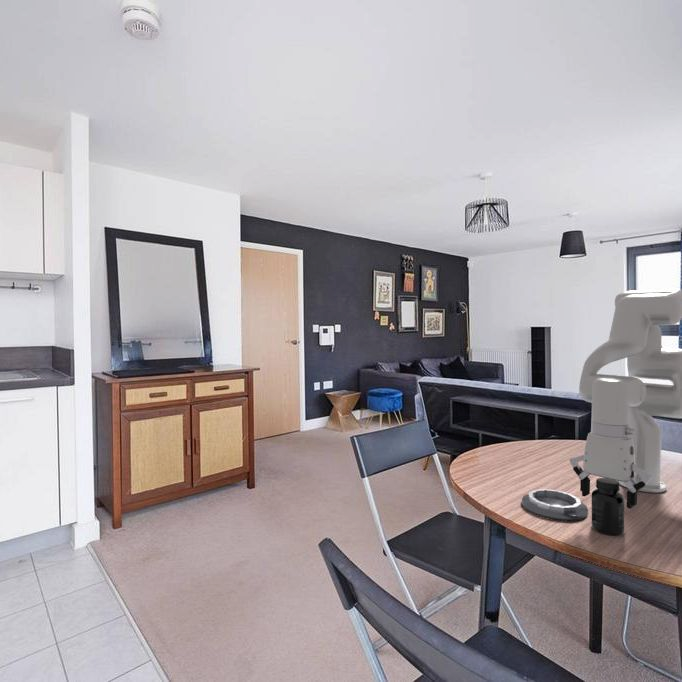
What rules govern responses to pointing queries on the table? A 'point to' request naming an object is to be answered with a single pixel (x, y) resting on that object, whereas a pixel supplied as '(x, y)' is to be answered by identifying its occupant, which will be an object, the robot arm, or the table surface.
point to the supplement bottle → (608, 508)
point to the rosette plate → (554, 515)
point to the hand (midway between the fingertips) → (607, 500)
